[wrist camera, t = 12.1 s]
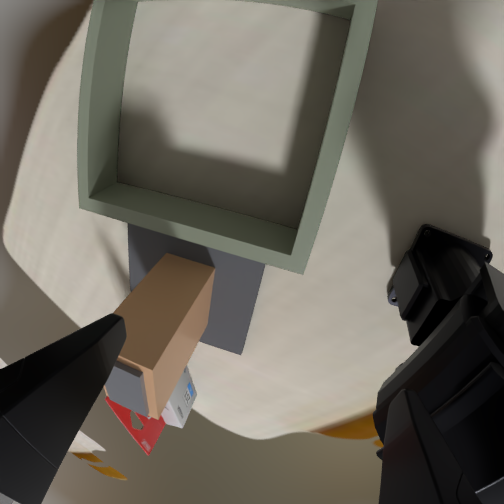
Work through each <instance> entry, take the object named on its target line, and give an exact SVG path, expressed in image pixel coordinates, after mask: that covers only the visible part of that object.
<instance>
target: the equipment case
mask: <svg viewBox="0 0 504 504" xmlns="http://www.w3.org/2000/svg"><path fill="white" fill-rule="evenodd" d="M141 1H152V0H94V2H93V7H92V12H91V16H90V21H89V27H88V32H87V38H86V44H85V51H84V58H83V66H82V75H81V85H80V96H79V111H78V138H77V168H78V195H79V208H81V209H84V210H87V211H90V212H94V213H97V214H100V215H104V216H107V217H110V218H113V219H117V220H120V221H123V222H127V223H130V224H133V225H136V226H140V227H143V228H146V229H150V230H153V231H156V232H160V233H163V234H166V235H170V236H173V237H176V238H180V239H183V240H186V241H190V242H193V243H196V244H200V245H203V246H207V247H210V248H213V249H217V250H220V251H223V252H227V253H230V254H234V255H237V256H240V257H244V258H247V259H250V260H254V261H257V262H261V263H264V264H268V265H271V266H274V267H278V268H281V269H285V270H288V271H291V272H295V273H298V274H302V275H303V274H304V271H305V268H306V265H307V262H308V259H309V256H310V253H311V250H312V247H313V244H314V241H315V238H316V235H317V232H318V229H319V226H320V223H321V219H322V216H323V213H324V210H325V207H326V203H327V200H328V197H329V194H330V190H331V187H332V184H333V180H334V177H335V174H336V170H337V167H338V163H339V160H340V156H341V153H342V149H343V146H344V142H345V139H346V135H347V131H348V128H349V124H350V120H351V116H352V112H353V109H354V105H355V101H356V97H357V93H358V89H359V85H360V81H361V77H362V72H363V68H364V64H365V60H366V55H367V51H368V46H369V42H370V37H371V32H372V28H373V23H374V18H375V13H376V8H377V3H378V0H238V1H250V2H259V3H268V4H275V5H282V6H289V7H295V8H300V9H305V10H310V11H315V12H320V13H324V14H329V15H333V16H337V17H341V18H345V19H348V20H351V22H350V26H349V31H348V35H347V40H346V44H345V49H344V53H343V58H342V62H341V66H340V71H339V75H338V79H337V83H336V87H335V92H334V96H333V100H332V104H331V108H330V112H329V116H328V120H327V124H326V128H325V131H324V135H323V139H322V143H321V147H320V151H319V154H318V158H317V162H316V166H315V169H314V173H313V177H312V180H311V184H310V188H309V191H308V195H307V198H306V202H305V206H304V209H303V213H302V216H301V220H300V223H299V226H298V230H297V229H293V228H290V227H286V226H283V225H279V224H276V223H272V222H269V221H265V220H262V219H258V218H254V217H251V216H247V215H244V214H240V213H236V212H233V211H229V210H225V209H221V208H218V207H214V206H210V205H206V204H203V203H199V202H195V201H191V200H187V199H183V198H179V197H175V196H172V195H168V194H164V193H160V192H156V191H151V190H147V189H143V188H139V187H135V186H131V185H127V184H123V183H118V182H117V161H118V140H119V125H120V112H121V102H122V92H123V84H124V76H125V68H126V61H127V55H128V48H129V43H130V37H131V31H132V26H133V21H134V16H135V12H136V7H137V3H138V2H141Z"/></svg>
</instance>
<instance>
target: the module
mask: <svg viewBox="0 0 504 504" xmlns="http://www.w3.org/2000/svg"><path fill="white" fill-rule="evenodd" d="M214 274H215V268H214V267H211V266H207V265H204V264H201V263H198V262H195V261H191V260H188V259H185V258H182V257H179V256H176V255H172V254H169V253H166V254H165V255H164V256H163V257H162V258H161V259H160V261H159V262H158V263H157V264H156V265H155V266H154V267H153V268H152V269H151V270H150V272H149V273H148V274H147V275H146V276H145V277H144V278H143V279H142V280H141V282H140V283H139V284H138V285H137V286H136V287H135V288H134V289H133V291H132V292H131V293H130V294H129V295H128V296H127V297H126V299H125V300H124V301H123V302H122V303H121V304H120V306H119V307H118V308H117V309H116V310H115V311H114V314H117V315H119V316H122V317H123V318H124V321H125V327H126V333H127V337H126V341H125V343H124V345H123V347H122V350H121V352H120V354H119V356H118V358H117V361H116V363H115V365H114V367H113V370H112V372H111V374H110V376H109V378H108V380H107V382H106V383H105V385H104V389H105V392H106V395H107V396H108V397H109V399H110V400H112V401H114V402H116V403H118V404H120V405H122V406H124V407H126V408H128V409H130V410H132V411H134V412H136V413H139V414H141V415H143V416H145V417H147V416H150V417H153V418H155V419H157V420H159V418H160V416H161V414H162V412H163V410H164V408H165V406H166V404H167V402H168V400H169V398H170V396H171V394H172V392H173V390H174V388H175V386H176V384H177V383H178V381H179V379H180V377H181V375H182V373H183V371H184V369H185V367H186V365H187V363H188V361H189V359H190V357H191V355H192V353H193V351H194V350H195V348H196V346H197V344H198V342H199V340H200V338H201V336H202V334H203V332H204V330H205V328H206V326H207V324H208V317H209V310H210V302H211V295H212V288H213V281H214Z"/></svg>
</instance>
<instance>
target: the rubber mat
mask: <svg viewBox="0 0 504 504" xmlns="http://www.w3.org/2000/svg"><path fill="white" fill-rule="evenodd" d="M128 251H129V273H130V289H131V292H132V291H133V289H134V288H135V287H136V286H137V285H138V284H139V283H140V282H141V280H142V279H143V278H144V277H145V276H146V275H147V274H148V273H149V272H150V270H151V269H152V268H153V267H154V266H155V265H156V264H157V263H158V262H159V261H160V259H161V258H162V257H163V256H164V255H165V254H166V253H169V254H172V255H176V256H179V257H182V258H185V259H188V260H191V261H195V262H198V263H201V264H204V265H207V266H211V267H214V268H215V274H214V281H213V288H212V295H211V302H210V310H209V317H208V324H207V326H206V328H205V330H204V332H203V334H202V336H201V338H200V340H199V341H200V342H203V343H205V344H208V345H211V346H214V347H217V348H220V349H223V350H226V351H229V352H233V353H236V354H239V355H241V354H242V351H243V348H244V344H245V340H246V336H247V333H248V329H249V325H250V321H251V317H252V314H253V310H254V306H255V302H256V298H257V295H258V291H259V287H260V283H261V279H262V275H263V271H264V268H265V264H264V263H261V262H257V261H254V260H250V259H247V258H244V257H240V256H237V255H234V254H230V253H227V252H223V251H220V250H217V249H213V248H210V247H207V246H203V245H200V244H196V243H193V242H190V241H186V240H183V239H180V238H176V237H173V236H170V235H166V234H163V233H160V232H156V231H153V230H150V229H146V228H143V227H140V226H136V225H133V224H130V223H128Z"/></svg>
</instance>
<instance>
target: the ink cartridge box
mask: <svg viewBox="0 0 504 504" xmlns="http://www.w3.org/2000/svg"><path fill="white" fill-rule="evenodd" d="M196 396H197V393H196V390H195V387H194V385H193V382H192V379H191V376H190V373H189V370H188V367H187V365H186V367H185V369H184V371H183V373H182V375H181V377H180V379H179V381H178V383H177V384H176V386H175V388H174V390H173V392H172V394H171V396H170V398H169V400H168V402H167V404H166V406H165V408H164V410H163V412H162V414H161V416H160V418H159V420H157V419H155V418H153V417H150V416H147V417H145V416H143V415H141V414H139V413H136V412H135V414H136V415H137V417H138V418H139V420H140V421H141V422H142V424H143V427H142V429H140V430H139V429H135V428H133V427H132V423H131V417H130V412H131V411H132V410H130V409H128V408H126V407H124V406H122V405H120V404H118V403H116V402H114V401H112V400H110V399H109V397H108V396H106V397H105V401H106V402H107V403H108V405H109V406H110V407H111V409H112V410H113V412H114V413H115V414H116V416H117V417H118V419H119V420H120V421H121V423H122V424H123V425H124V426H125V428H126V429H127V430H128V432H129V433H130V434H131V435H132V437H133V438H134V439H135V440H136V442H137V443H138V444H139V445H140V446H141V448H142V449H143V450H144V451H145V453H146V454H147V455H149V454H150V452H151V451H152V449H153V447H154V445H155V443H156V441H157V439H158V437H159V435H160V433H161V432H162V430H163V428H164V426H165V424H169V425H173V426H177V427H180V428H183V426H184V424H185V422H186V419H187V417H188V415H189V412H190V410H191V407H192V405H193V403H194V401H195V398H196Z"/></svg>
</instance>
